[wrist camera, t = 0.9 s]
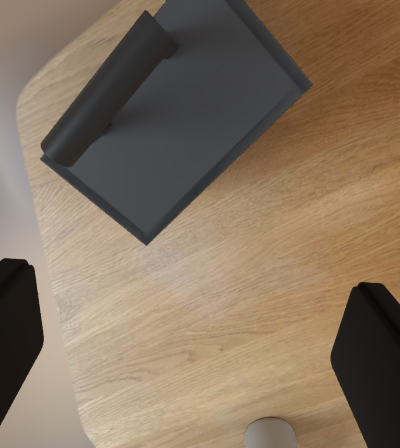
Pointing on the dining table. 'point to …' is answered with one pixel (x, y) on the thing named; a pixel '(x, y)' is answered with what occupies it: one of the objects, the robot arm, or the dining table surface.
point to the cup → (270, 434)
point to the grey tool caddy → (172, 110)
